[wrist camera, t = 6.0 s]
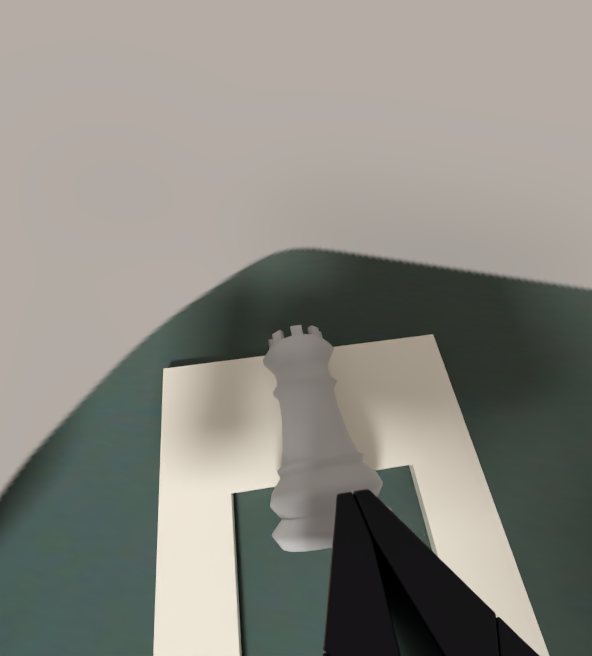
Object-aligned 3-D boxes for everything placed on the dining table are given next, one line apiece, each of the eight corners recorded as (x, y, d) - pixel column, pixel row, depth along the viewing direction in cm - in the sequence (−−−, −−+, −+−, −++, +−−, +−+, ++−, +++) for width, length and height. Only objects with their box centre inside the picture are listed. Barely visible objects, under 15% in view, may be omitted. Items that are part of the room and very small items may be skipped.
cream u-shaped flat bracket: (583, 774, 11) (597, 787, 10) (151, 885, 9) (144, 905, 9) (429, 338, 17) (433, 334, 17) (166, 371, 16) (163, 368, 16)
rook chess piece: (422, 519, 11) (361, 321, 15) (328, 557, 9) (280, 305, 12) (338, 524, 14) (304, 359, 18) (250, 553, 12) (230, 353, 15)
